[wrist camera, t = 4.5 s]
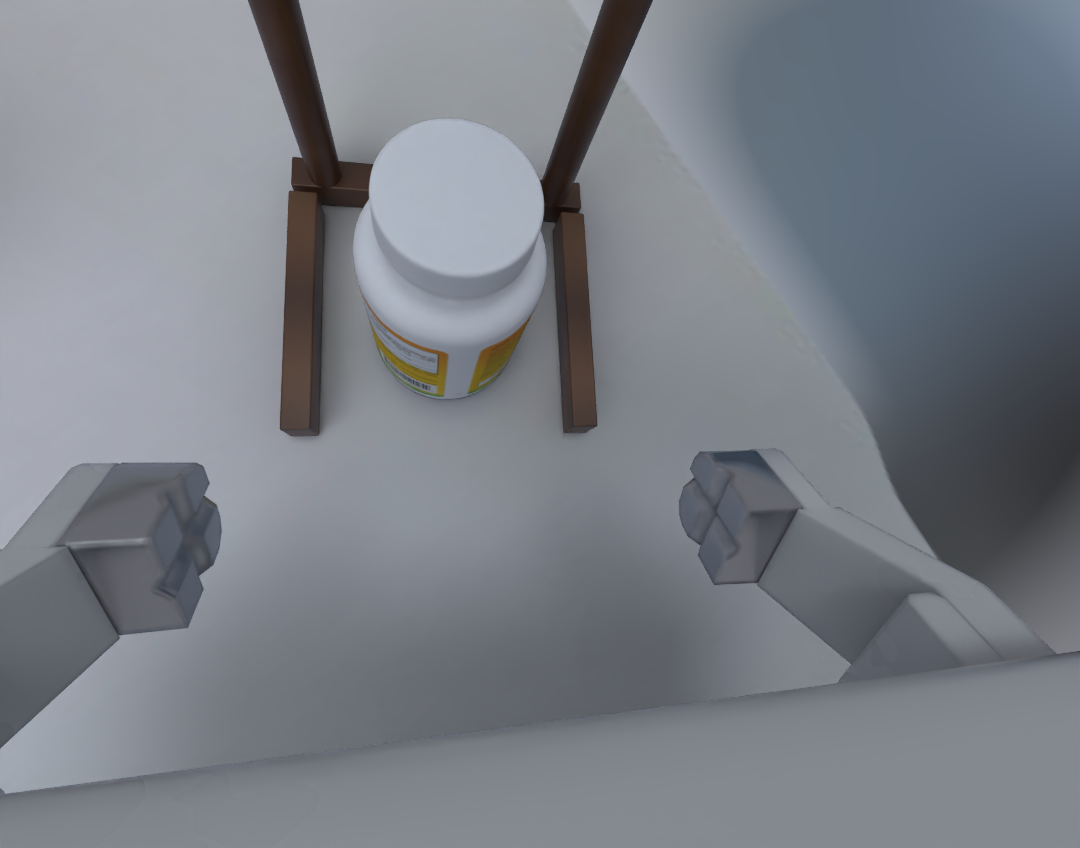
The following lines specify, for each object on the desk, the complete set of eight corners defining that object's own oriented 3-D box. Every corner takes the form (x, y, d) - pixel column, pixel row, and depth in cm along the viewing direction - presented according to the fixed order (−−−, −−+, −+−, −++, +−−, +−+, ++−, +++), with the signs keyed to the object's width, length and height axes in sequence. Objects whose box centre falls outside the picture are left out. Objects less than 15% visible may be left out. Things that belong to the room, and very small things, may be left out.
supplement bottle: (502, 271, 22) (557, 91, 13) (519, 394, 21) (591, 298, 12) (369, 276, 21) (323, 82, 12) (383, 408, 20) (344, 313, 11)
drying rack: (586, 432, 22) (845, 293, 8) (290, 436, 19) (-26, 248, 6) (572, 198, 24) (766, -230, 10) (299, 175, 21) (73, -429, 8)
